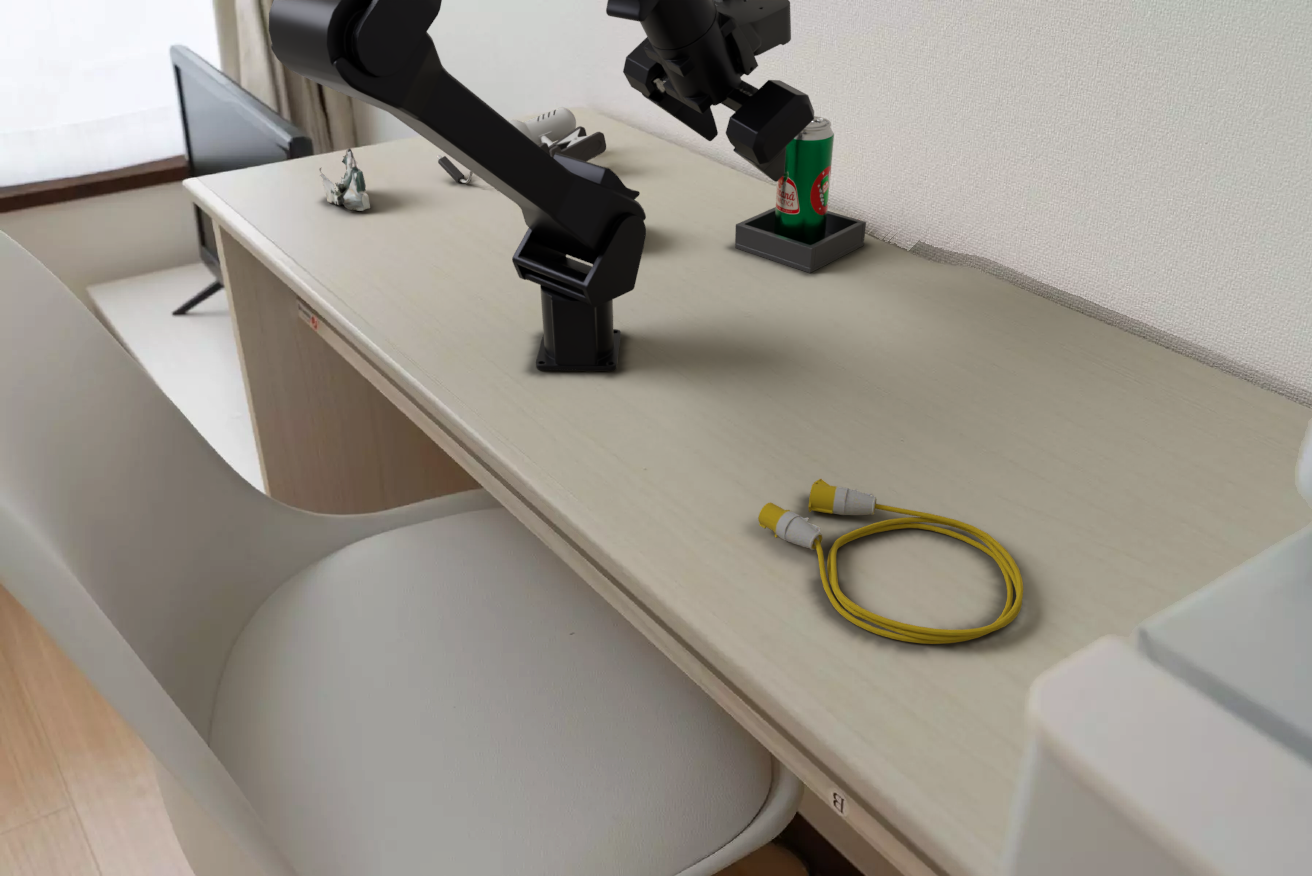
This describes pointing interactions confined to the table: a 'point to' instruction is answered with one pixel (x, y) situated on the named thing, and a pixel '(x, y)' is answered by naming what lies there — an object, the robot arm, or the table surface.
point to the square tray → (763, 242)
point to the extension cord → (864, 504)
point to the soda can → (805, 184)
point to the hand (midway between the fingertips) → (745, 157)
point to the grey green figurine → (348, 186)
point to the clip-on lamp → (549, 139)
